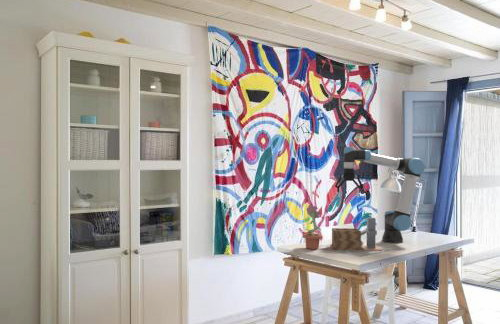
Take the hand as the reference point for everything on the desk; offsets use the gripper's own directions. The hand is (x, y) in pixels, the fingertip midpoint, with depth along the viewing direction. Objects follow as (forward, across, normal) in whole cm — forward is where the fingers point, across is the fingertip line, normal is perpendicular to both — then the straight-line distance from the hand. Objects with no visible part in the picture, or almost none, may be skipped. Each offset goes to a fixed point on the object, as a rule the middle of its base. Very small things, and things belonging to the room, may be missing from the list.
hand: (348, 197), depth 316 cm
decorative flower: (+35, +27, +16) cm, 47 cm away
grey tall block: (+34, -13, +14) cm, 39 cm away
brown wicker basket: (+34, +4, +14) cm, 37 cm away
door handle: (+35, -4, -5) cm, 36 cm away
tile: (+34, -13, +14) cm, 39 cm away
